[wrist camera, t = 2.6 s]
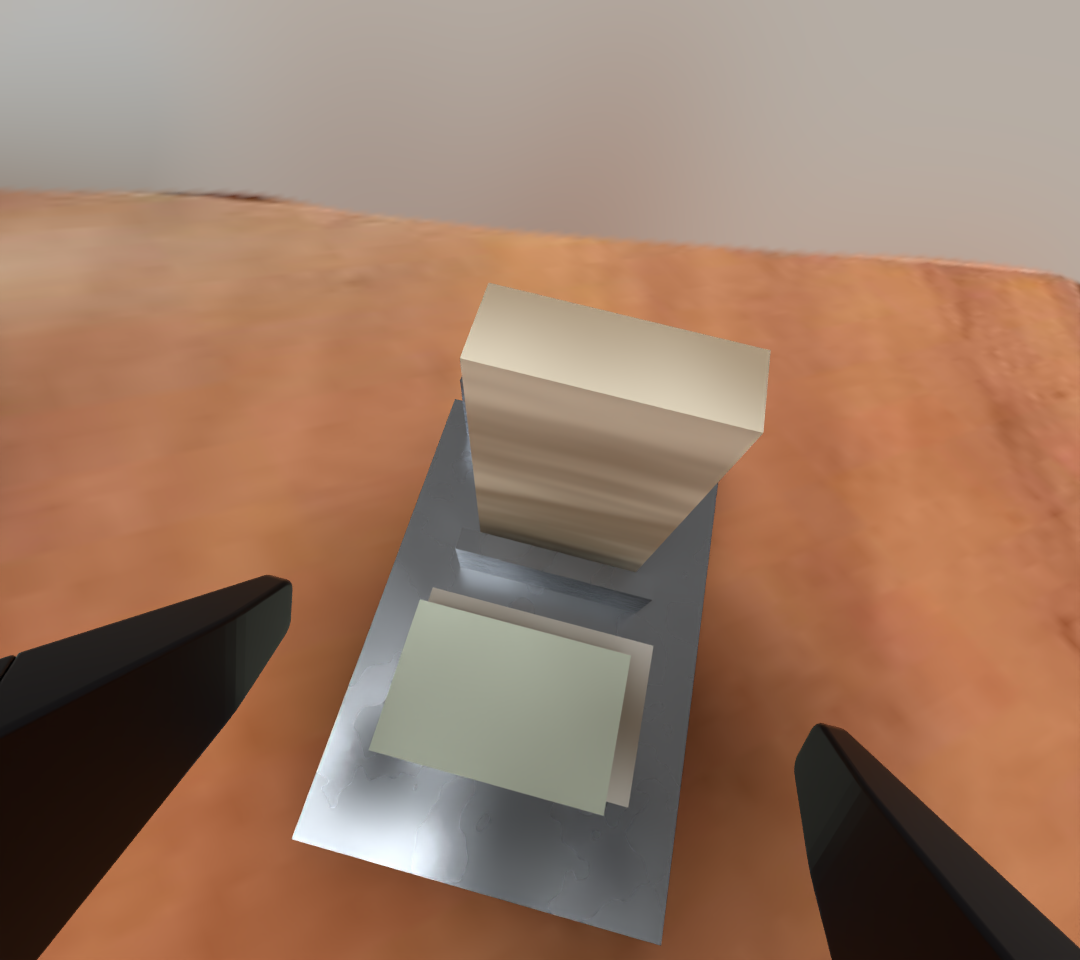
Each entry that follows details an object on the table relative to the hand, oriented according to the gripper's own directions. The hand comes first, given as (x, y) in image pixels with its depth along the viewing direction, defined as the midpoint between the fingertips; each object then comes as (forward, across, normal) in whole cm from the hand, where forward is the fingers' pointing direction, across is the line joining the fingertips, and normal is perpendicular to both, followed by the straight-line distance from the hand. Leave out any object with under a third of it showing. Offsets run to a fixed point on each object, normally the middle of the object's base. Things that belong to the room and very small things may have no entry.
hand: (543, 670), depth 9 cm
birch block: (+12, 0, +4) cm, 13 cm away
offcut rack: (+11, 0, +7) cm, 13 cm away
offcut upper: (+7, 0, +7) cm, 10 cm away
